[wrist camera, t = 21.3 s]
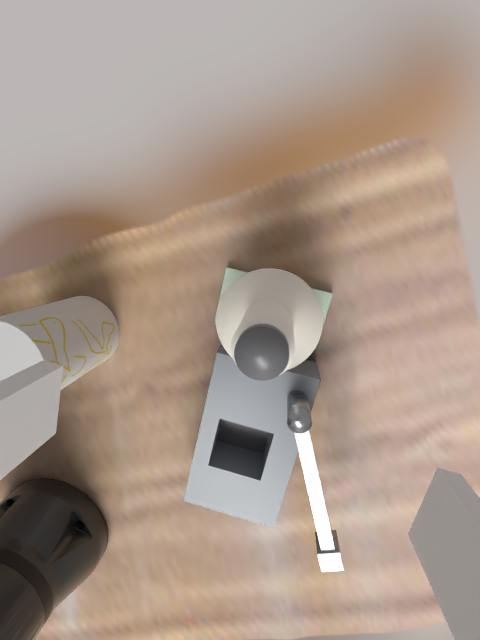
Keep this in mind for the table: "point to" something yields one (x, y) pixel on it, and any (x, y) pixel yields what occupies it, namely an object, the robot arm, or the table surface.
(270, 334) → the plug
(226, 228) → the table surface
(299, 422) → the record player tonearm
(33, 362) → the cup
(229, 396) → the socket block
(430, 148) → the table surface
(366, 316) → the table surface
